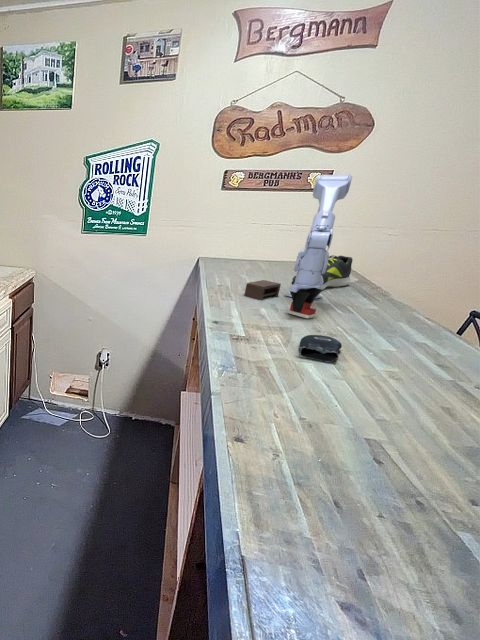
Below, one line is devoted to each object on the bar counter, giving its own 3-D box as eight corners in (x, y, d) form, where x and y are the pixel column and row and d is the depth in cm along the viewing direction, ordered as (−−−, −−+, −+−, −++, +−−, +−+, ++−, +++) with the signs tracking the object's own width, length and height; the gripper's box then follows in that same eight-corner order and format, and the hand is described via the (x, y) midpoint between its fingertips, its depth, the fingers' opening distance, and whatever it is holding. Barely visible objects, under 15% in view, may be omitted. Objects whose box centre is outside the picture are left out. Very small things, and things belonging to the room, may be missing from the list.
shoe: (286, 312, 154) (289, 301, 153) (294, 311, 156) (297, 299, 154) (307, 318, 148) (311, 306, 147) (315, 316, 150) (318, 305, 148)
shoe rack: (260, 292, 180) (263, 279, 178) (277, 296, 174) (281, 283, 172) (244, 295, 176) (246, 282, 174) (260, 300, 170) (263, 286, 168)
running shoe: (280, 287, 187) (288, 256, 182) (326, 279, 198) (334, 250, 193) (307, 293, 177) (315, 261, 172) (353, 285, 189) (362, 254, 184)
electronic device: (339, 369, 116) (341, 344, 126) (341, 350, 113) (344, 325, 124) (295, 365, 121) (301, 341, 132) (297, 347, 119) (303, 324, 129)
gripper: (310, 274, 140) (298, 316, 146) (337, 269, 146) (325, 310, 152) (287, 270, 146) (277, 311, 151) (314, 265, 152) (304, 305, 157)
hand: (300, 310), depth 152 cm, fingers closed on shoe, 3 cm apart
